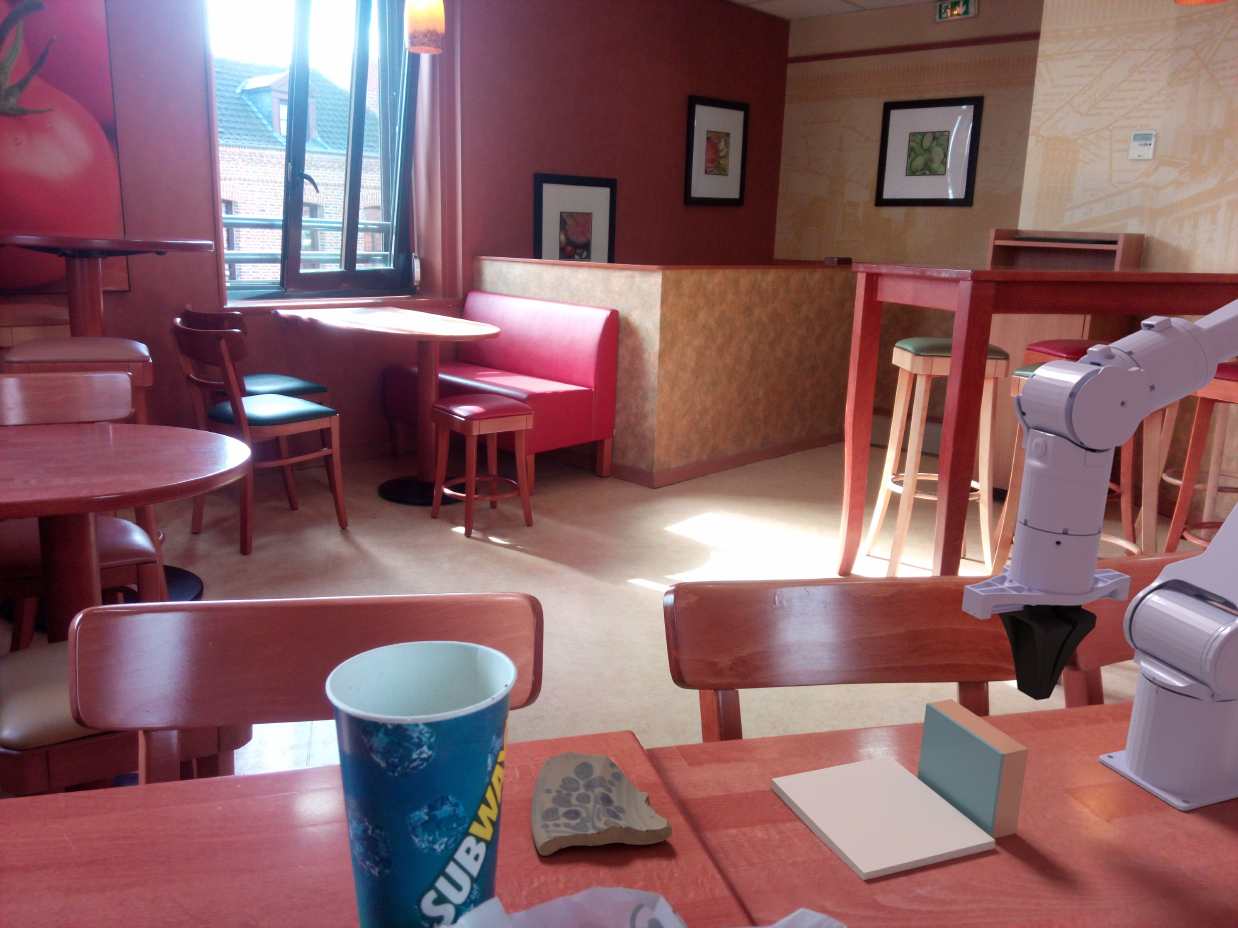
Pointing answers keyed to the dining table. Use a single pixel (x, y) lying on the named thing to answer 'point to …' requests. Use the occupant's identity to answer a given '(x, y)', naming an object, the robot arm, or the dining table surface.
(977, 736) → the glazed tile
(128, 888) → the dining table surface
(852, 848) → the pale grey mat
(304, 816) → the dining table surface
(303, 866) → the dining table surface
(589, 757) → the ceramic fragment
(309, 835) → the dining table surface
